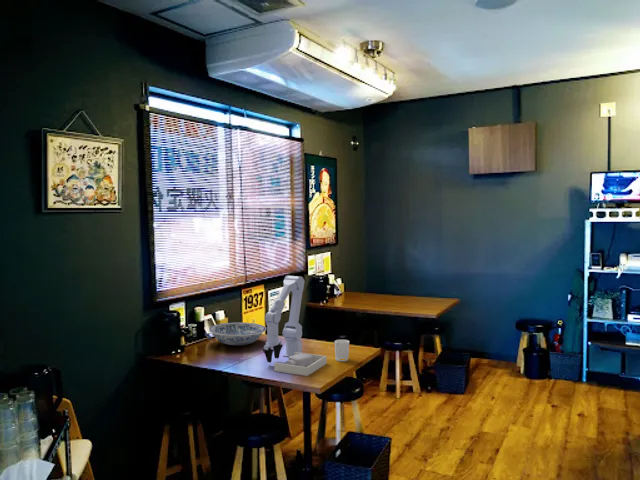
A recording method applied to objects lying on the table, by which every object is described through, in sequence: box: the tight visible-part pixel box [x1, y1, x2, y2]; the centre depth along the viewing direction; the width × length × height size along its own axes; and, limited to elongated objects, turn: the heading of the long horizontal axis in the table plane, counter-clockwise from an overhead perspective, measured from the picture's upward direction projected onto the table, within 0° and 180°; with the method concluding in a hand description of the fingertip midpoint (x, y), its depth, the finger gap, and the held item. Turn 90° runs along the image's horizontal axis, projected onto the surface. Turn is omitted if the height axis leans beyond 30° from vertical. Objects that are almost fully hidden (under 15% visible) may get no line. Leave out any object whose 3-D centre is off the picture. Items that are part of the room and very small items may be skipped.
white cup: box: [334, 339, 350, 362], centre depth 260 cm, size 8×8×10 cm
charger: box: [284, 352, 314, 367], centre depth 250 cm, size 5×9×15 cm
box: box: [273, 352, 328, 377], centre depth 247 cm, size 22×18×4 cm
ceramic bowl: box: [208, 321, 267, 346], centre depth 294 cm, size 34×34×10 cm
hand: (273, 360), depth 255 cm, fingers open, 7 cm apart
